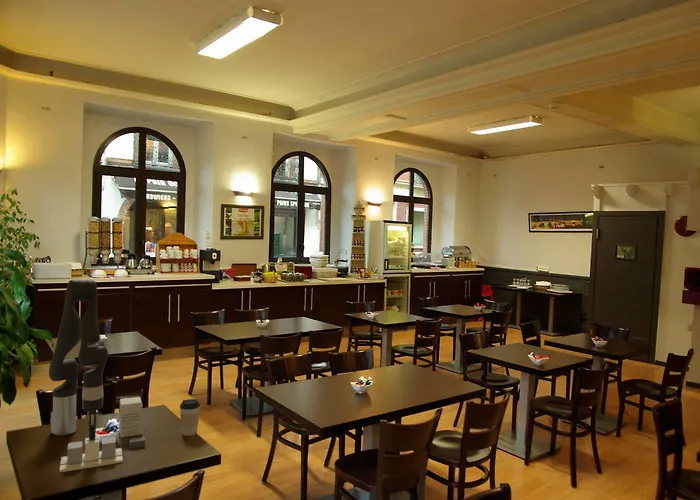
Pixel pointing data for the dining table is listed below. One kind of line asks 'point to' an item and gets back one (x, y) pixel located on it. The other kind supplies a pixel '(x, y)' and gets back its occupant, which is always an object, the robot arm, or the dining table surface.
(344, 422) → the dining table surface
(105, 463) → the board
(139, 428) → the supplement box
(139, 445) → the block
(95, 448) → the expansion module
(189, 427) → the coffee cup
